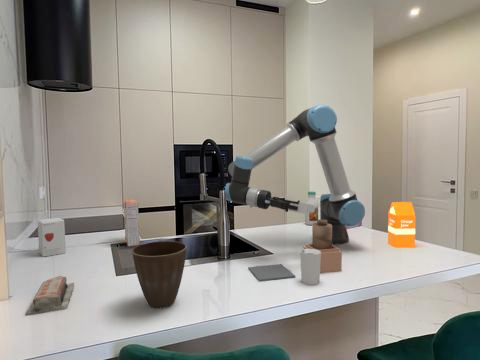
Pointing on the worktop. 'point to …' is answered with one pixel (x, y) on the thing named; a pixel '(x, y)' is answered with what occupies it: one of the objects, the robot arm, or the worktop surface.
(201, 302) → the worktop surface
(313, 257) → the grey cylinder
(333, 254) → the terracotta box
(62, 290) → the packaged product
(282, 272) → the slate mat
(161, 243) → the plant pot
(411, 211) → the orange juice
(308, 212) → the milk bottle
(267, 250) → the worktop surface
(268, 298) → the worktop surface
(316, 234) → the brown jar
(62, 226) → the supplement box
